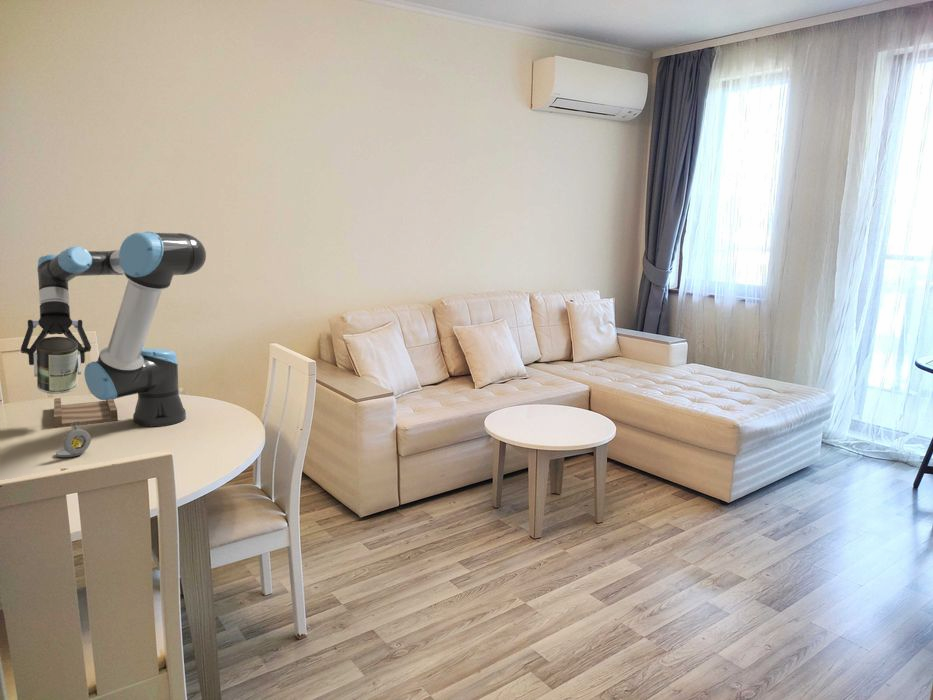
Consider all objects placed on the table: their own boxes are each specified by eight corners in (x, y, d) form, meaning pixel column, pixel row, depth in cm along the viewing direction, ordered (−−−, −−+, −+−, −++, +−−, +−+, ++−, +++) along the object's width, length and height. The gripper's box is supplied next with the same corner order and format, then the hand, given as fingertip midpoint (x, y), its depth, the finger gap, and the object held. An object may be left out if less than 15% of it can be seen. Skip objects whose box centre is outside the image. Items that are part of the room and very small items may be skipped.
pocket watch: (65, 450, 165) (61, 414, 163) (97, 450, 166) (94, 415, 164) (47, 460, 157) (43, 423, 155) (81, 460, 158) (77, 424, 156)
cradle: (55, 408, 203) (54, 398, 202) (112, 402, 212) (111, 393, 211) (55, 427, 183) (54, 416, 183) (117, 420, 192) (117, 409, 192)
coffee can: (29, 390, 177) (28, 347, 172) (47, 375, 187) (47, 334, 181) (67, 396, 179) (67, 354, 174) (84, 380, 189) (84, 340, 183)
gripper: (96, 309, 194) (101, 375, 188) (8, 308, 180) (10, 380, 175) (98, 300, 188) (103, 368, 183) (7, 299, 175) (10, 372, 169)
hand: (58, 374), depth 179 cm, fingers closed on coffee can, 10 cm apart
